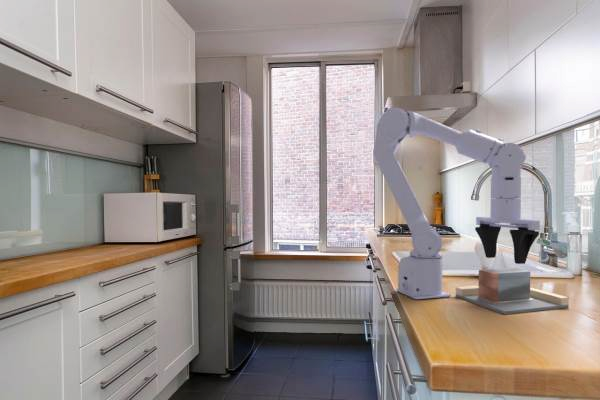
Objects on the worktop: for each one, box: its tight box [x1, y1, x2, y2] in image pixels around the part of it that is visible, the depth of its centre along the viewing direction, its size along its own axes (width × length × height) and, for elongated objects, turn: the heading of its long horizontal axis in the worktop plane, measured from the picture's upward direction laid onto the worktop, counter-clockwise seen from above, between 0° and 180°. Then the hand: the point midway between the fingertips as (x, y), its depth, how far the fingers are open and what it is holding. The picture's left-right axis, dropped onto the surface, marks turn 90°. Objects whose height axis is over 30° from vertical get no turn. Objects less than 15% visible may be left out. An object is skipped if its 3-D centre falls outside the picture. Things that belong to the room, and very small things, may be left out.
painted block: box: [478, 267, 531, 302], centre depth 75 cm, size 4×10×6 cm, turn 107°
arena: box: [455, 284, 570, 315], centre depth 75 cm, size 17×13×2 cm
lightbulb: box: [474, 239, 500, 270], centre depth 101 cm, size 6×6×11 cm
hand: (504, 260), depth 76 cm, fingers open, 7 cm apart
